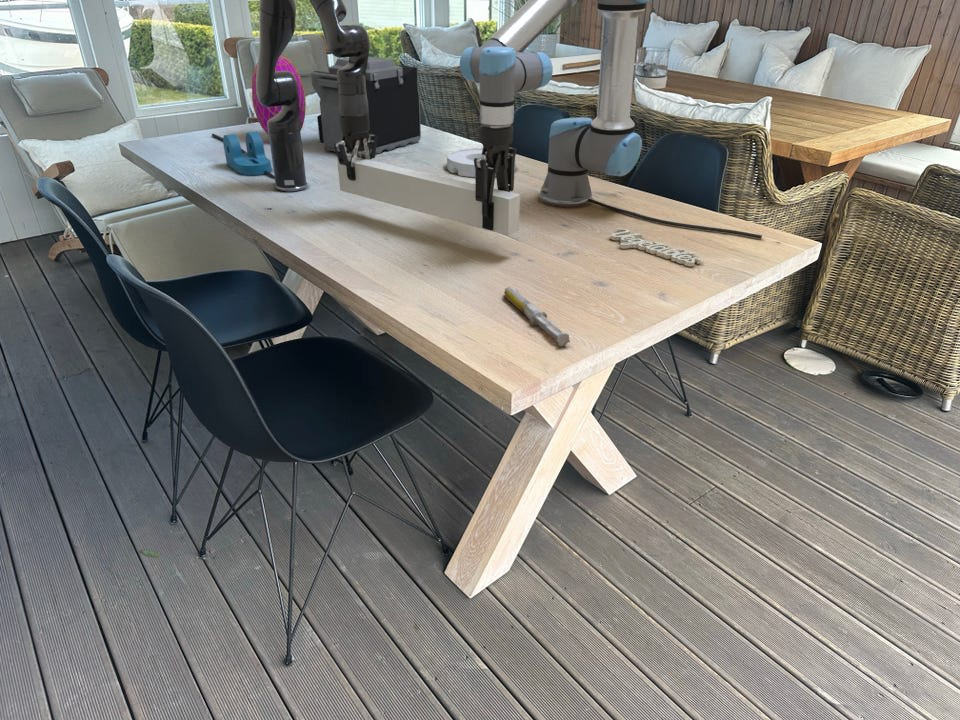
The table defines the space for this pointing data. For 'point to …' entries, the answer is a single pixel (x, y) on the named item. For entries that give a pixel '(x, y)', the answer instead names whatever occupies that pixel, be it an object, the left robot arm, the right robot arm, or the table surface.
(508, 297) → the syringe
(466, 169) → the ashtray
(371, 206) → the table surface
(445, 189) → the bar
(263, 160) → the camera mount
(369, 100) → the electronic device
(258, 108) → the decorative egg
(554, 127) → the right robot arm
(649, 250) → the decorative sign
